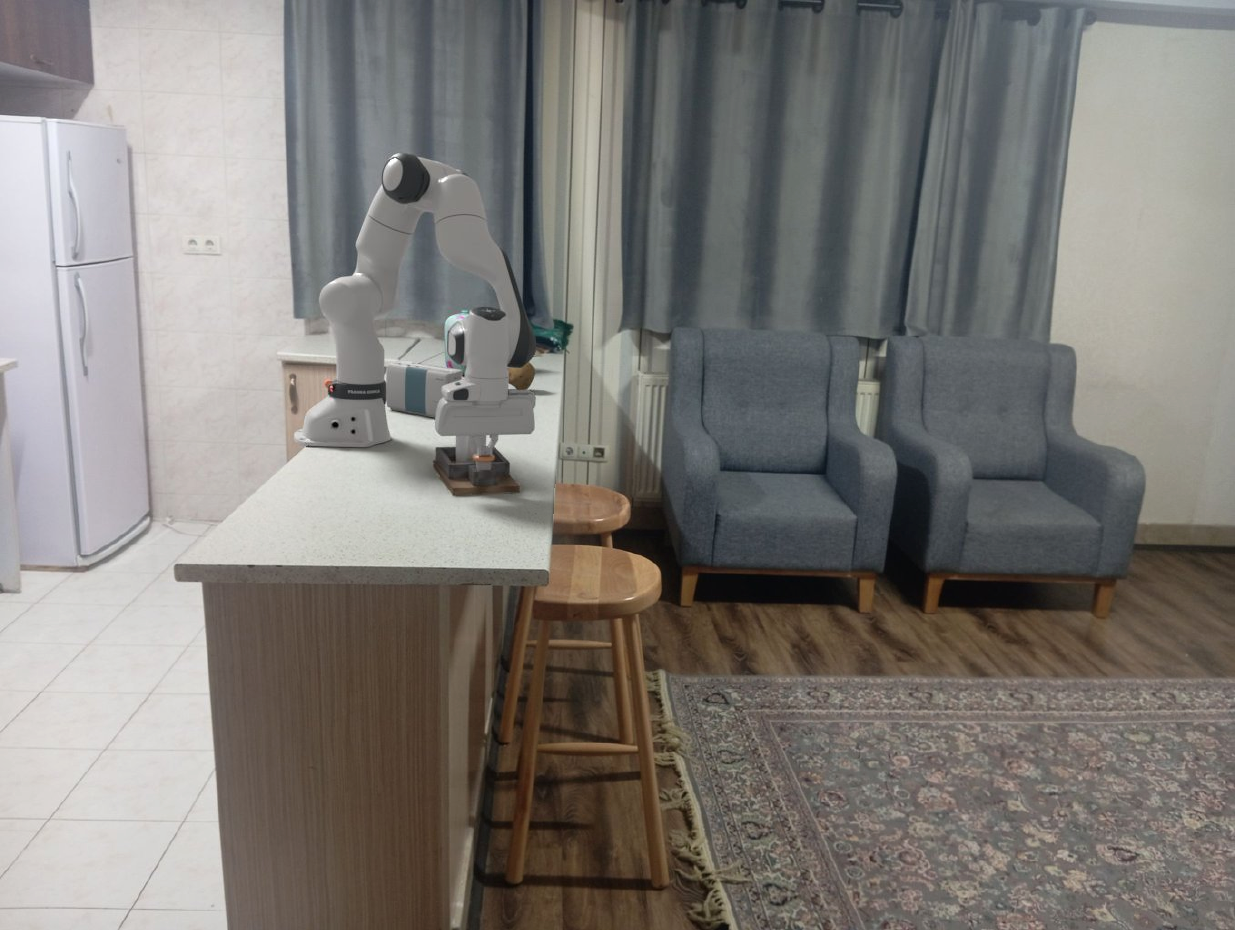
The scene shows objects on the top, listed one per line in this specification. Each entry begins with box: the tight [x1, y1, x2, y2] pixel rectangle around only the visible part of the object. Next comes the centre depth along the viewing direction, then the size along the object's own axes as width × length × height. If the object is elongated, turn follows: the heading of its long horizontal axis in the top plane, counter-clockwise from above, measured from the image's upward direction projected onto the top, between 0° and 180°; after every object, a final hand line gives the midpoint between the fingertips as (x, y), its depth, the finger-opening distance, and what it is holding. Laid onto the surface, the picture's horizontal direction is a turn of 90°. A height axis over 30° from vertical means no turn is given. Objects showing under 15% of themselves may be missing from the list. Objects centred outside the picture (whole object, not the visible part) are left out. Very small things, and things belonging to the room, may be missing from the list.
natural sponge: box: [508, 361, 536, 390], centre depth 315 cm, size 9×9×10 cm
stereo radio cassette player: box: [385, 349, 464, 419], centre depth 273 cm, size 21×8×20 cm, turn 62°
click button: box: [473, 454, 495, 470], centre depth 208 cm, size 4×4×5 cm
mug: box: [455, 435, 487, 463], centre depth 217 cm, size 10×7×12 cm, turn 3°
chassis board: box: [432, 446, 521, 496], centre depth 216 cm, size 14×22×4 cm, turn 20°
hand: (484, 455), depth 208 cm, fingers closed
